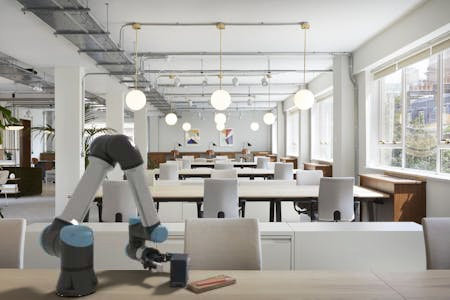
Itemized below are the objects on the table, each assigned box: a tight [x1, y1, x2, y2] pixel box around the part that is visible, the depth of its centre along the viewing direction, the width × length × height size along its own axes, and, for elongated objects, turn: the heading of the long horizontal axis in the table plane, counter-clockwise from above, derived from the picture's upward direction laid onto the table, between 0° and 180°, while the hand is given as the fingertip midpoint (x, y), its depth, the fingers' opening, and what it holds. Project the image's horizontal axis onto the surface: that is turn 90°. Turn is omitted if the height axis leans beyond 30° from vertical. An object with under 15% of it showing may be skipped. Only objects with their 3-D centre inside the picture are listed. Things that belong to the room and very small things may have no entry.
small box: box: [169, 252, 190, 288], centre depth 172 cm, size 11×6×10 cm, turn 179°
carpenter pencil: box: [197, 278, 230, 286], centre depth 166 cm, size 14×1×1 cm, turn 120°
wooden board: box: [186, 274, 237, 294], centre depth 168 cm, size 8×18×2 cm, turn 130°
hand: (176, 265), depth 175 cm, fingers open, 13 cm apart
